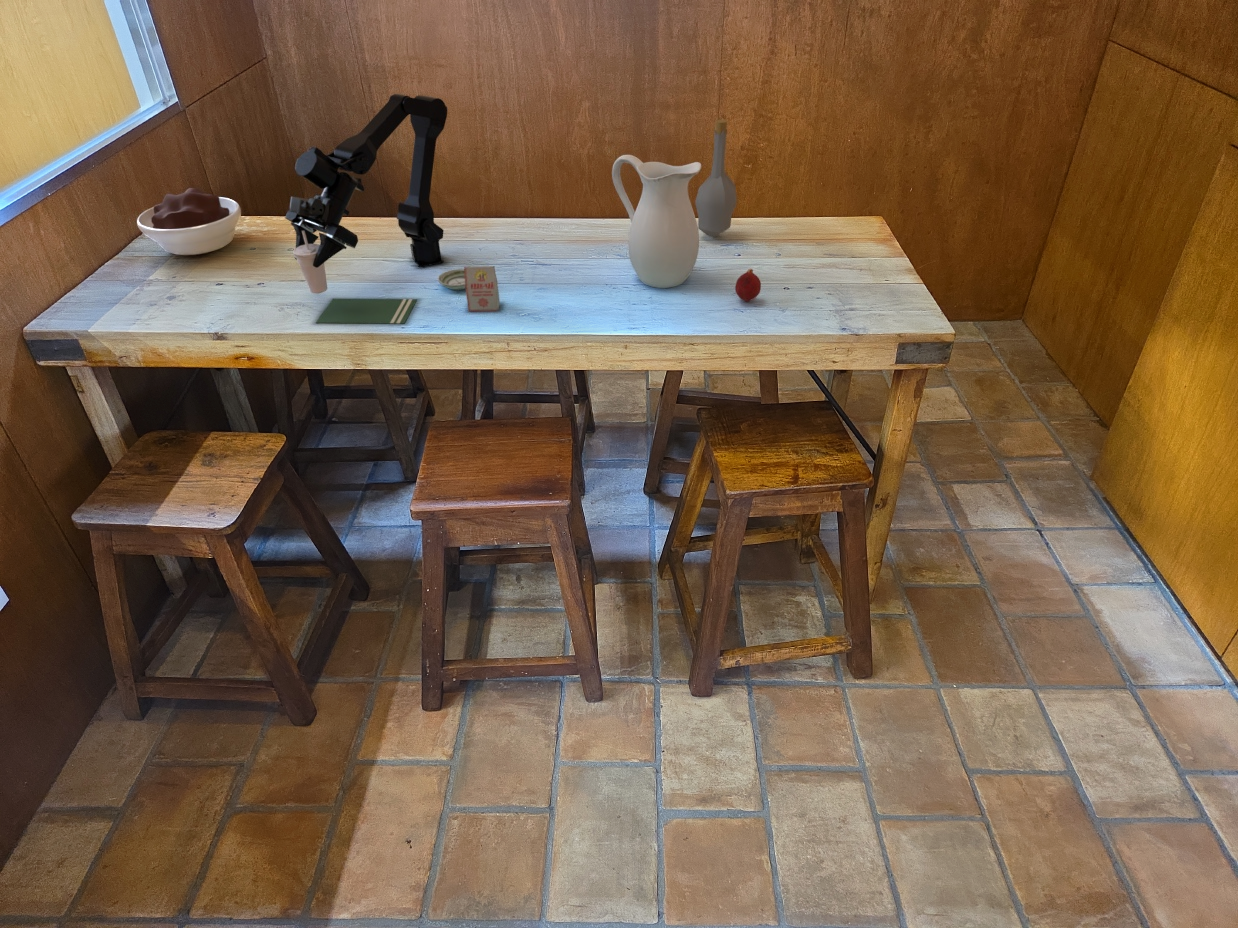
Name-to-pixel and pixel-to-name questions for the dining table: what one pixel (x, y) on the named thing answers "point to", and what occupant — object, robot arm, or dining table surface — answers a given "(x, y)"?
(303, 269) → the smoothie
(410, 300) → the cloth
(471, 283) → the tan food box
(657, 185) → the pitcher
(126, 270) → the dining table surface
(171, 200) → the bowl of brown food
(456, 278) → the saucer
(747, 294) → the onion
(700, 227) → the bottle
